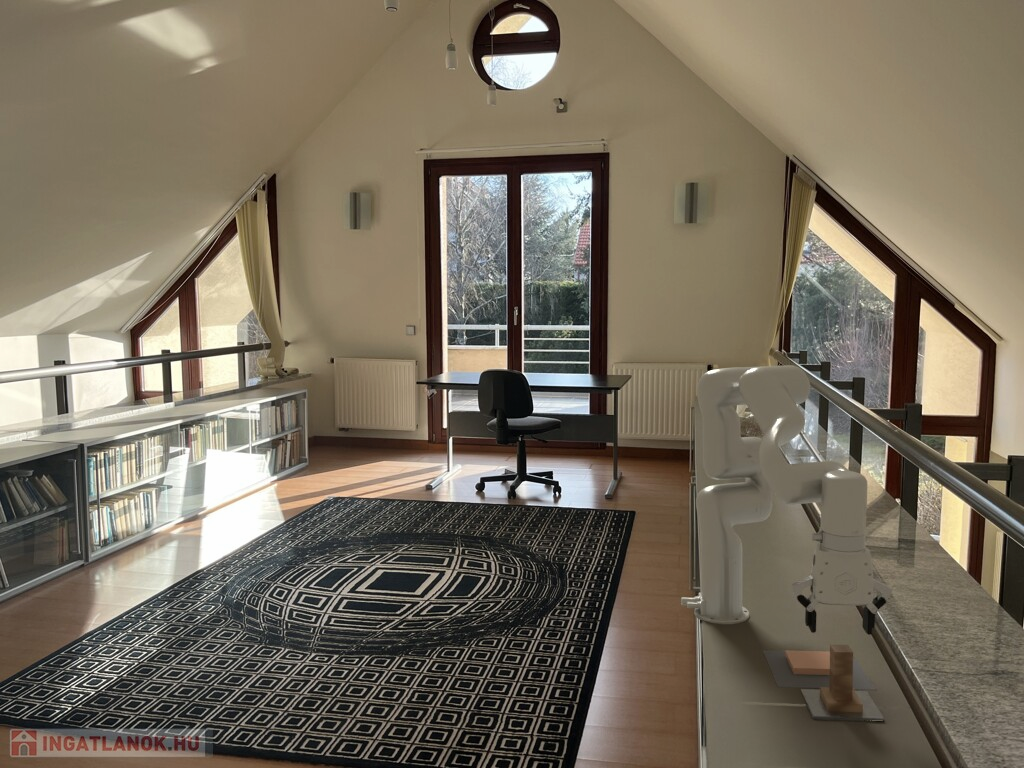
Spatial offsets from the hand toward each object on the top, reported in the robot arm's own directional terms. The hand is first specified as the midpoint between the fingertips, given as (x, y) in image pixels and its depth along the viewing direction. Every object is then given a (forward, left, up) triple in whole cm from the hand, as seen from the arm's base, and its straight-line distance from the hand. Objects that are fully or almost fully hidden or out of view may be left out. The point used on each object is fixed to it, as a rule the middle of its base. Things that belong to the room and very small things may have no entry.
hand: (839, 630), depth 147 cm
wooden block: (0, -1, -14) cm, 14 cm away
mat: (-1, +13, -14) cm, 19 cm away
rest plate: (0, -1, -14) cm, 14 cm away
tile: (-1, +19, -13) cm, 23 cm away
